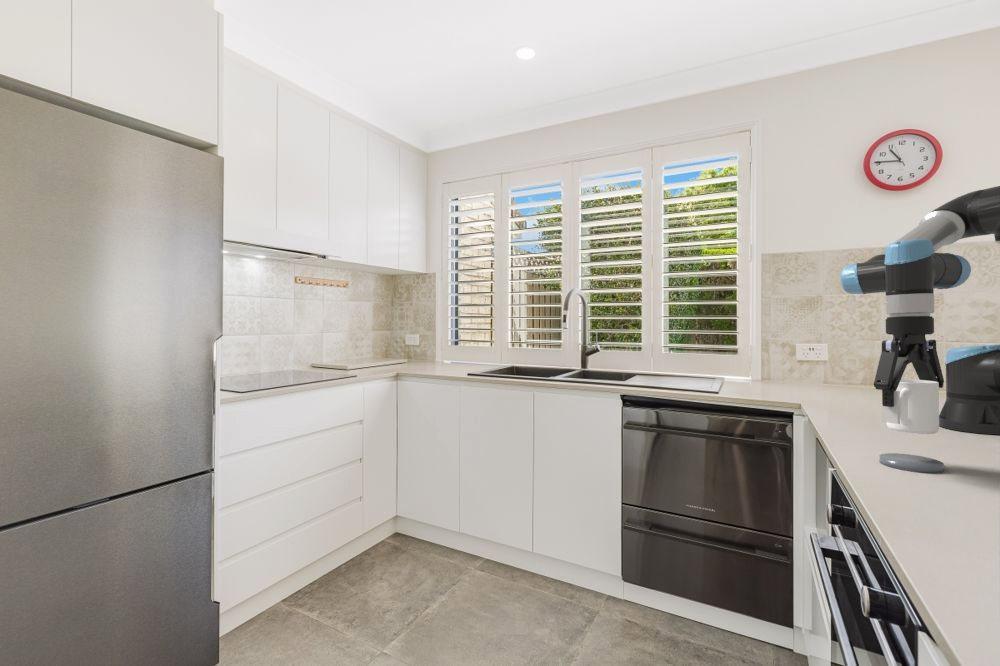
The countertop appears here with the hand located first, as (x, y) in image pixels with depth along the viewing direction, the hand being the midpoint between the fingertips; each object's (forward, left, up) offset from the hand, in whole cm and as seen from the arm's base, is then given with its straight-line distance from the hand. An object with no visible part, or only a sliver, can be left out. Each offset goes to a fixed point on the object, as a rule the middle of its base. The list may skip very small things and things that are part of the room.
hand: (909, 420), depth 96 cm
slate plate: (0, 0, -9) cm, 9 cm away
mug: (0, 0, -2) cm, 2 cm away
